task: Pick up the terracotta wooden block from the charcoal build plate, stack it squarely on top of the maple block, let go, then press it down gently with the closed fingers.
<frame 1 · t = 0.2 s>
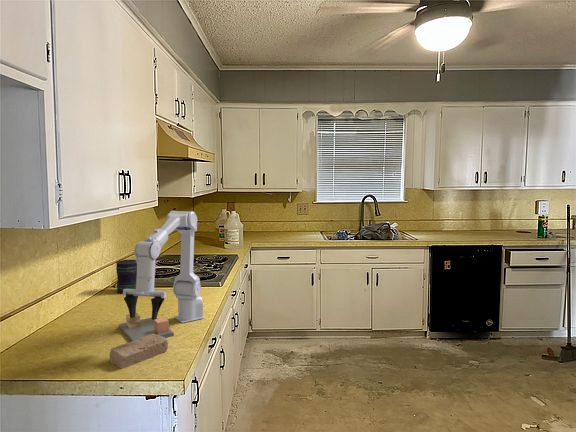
hand: (143, 318, 138), 10 cm above the table, tool pointing down, fingers open, 7 cm apart
brick: (139, 357, 133), on the table
storage jar: (127, 291, 206), on the table
maple block: (133, 325, 156), point 1 cm above the table, touching build plate
build plate: (145, 331, 154), on the table
terracotta block: (161, 330, 152), point 1 cm above the table, touching build plate
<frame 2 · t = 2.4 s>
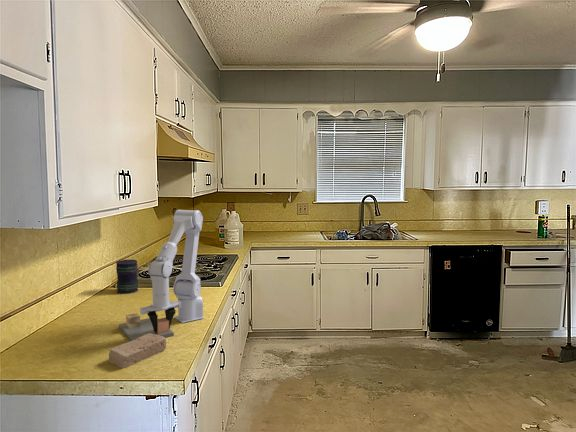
hand: (161, 329, 152), 2 cm above the table, tool pointing down, fingers closed on terracotta block, 4 cm apart
terracotta block: (161, 330, 152), point 1 cm above the table, touching build plate, gripper
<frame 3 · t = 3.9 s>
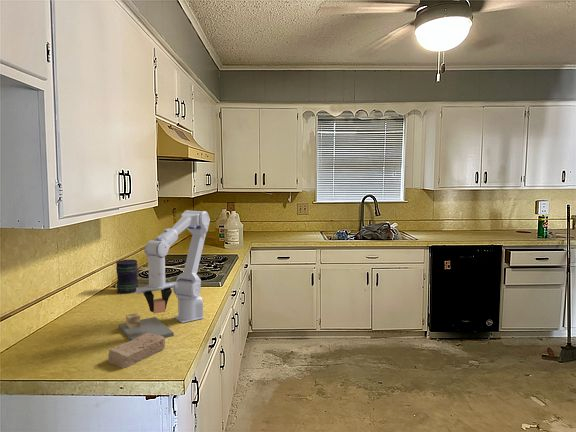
hand: (157, 309, 151), 9 cm above the table, tool pointing down, fingers closed on terracotta block, 4 cm apart
terracotta block: (158, 311, 151), point 8 cm above the table, touching gripper
when the fingers open (7 cm above the table, at t = 5.5 s): terracotta block stays where it is, resting on maple block.
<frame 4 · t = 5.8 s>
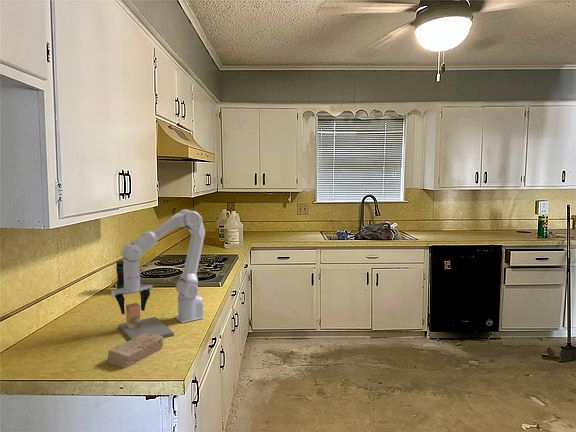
hand: (133, 311, 156), 7 cm above the table, tool pointing down, fingers open, 7 cm apart
maple block: (133, 325, 156), point 1 cm above the table, touching build plate, terracotta block
terracotta block: (133, 315, 156), point 5 cm above the table, touching maple block
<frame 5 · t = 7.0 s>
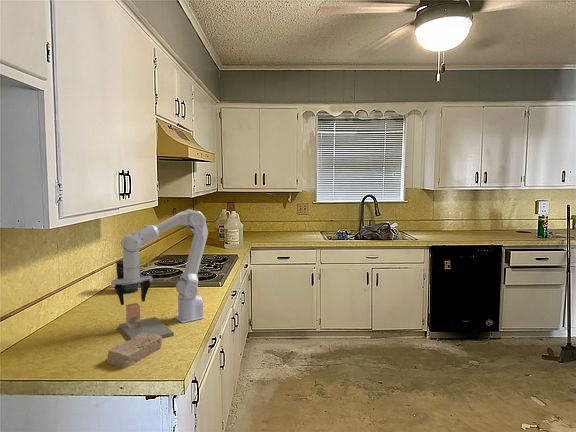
hand: (132, 302, 155), 10 cm above the table, tool pointing down, fingers open, 7 cm apart
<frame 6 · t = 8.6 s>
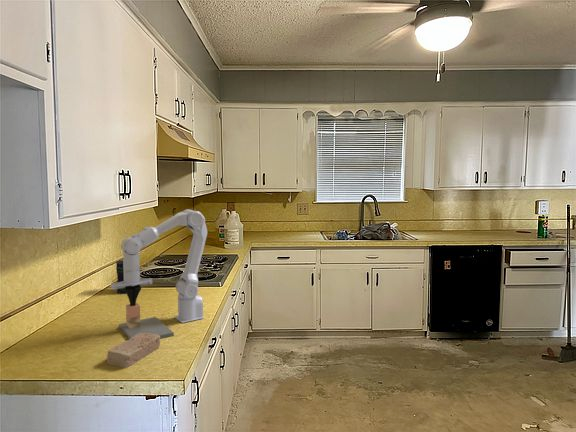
hand: (132, 305, 156), 9 cm above the table, tool pointing down, fingers closed, pressing on terracotta block
terracotta block: (133, 315, 156), point 5 cm above the table, touching gripper, maple block
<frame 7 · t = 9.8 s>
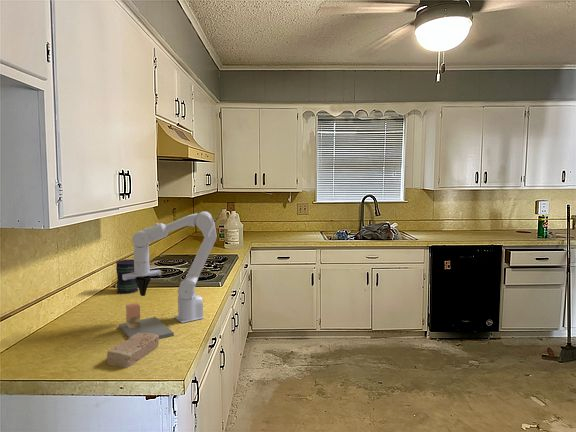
hand: (142, 295, 164), 10 cm above the table, tool pointing down, fingers closed
terracotta block: (133, 315, 156), point 5 cm above the table, touching maple block
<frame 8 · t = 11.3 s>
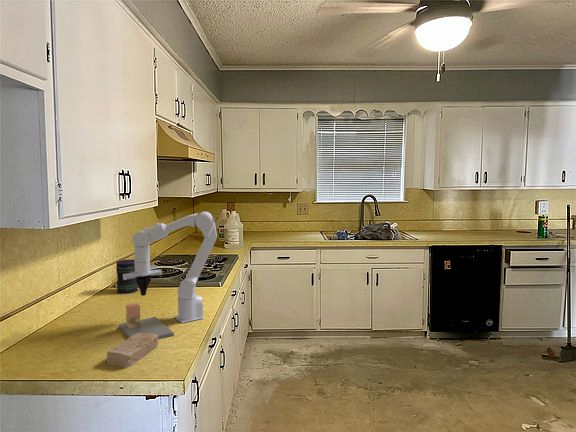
hand: (143, 294, 165), 10 cm above the table, tool pointing down, fingers closed
at the end: terracotta block 0.2 cm off-centre on the maple block, point 4.0 cm above the maple block's base; terracotta block tilted 0°; the gripper is holding nothing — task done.
